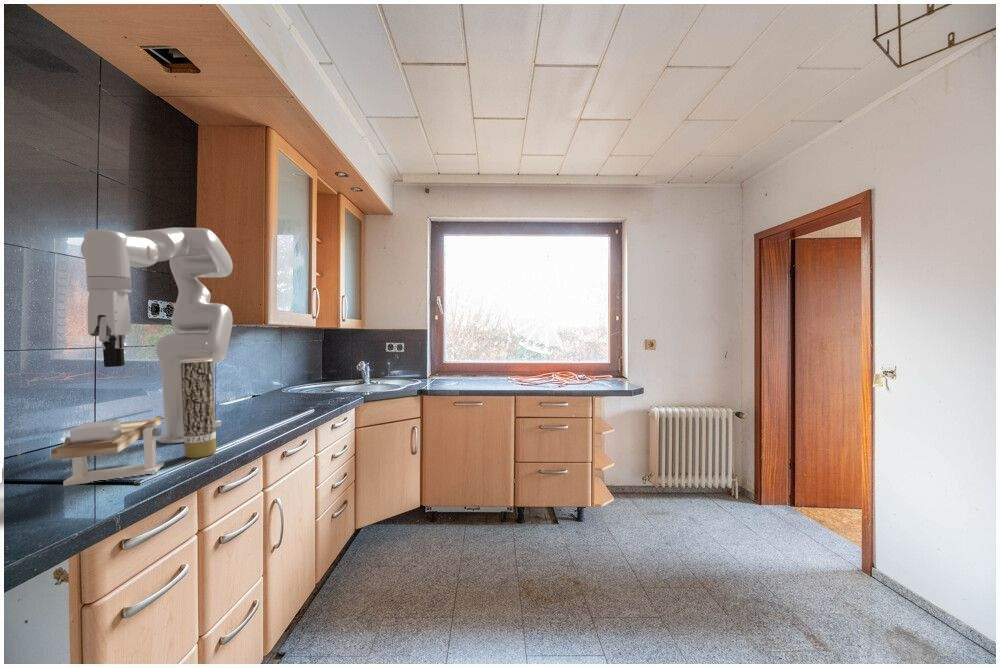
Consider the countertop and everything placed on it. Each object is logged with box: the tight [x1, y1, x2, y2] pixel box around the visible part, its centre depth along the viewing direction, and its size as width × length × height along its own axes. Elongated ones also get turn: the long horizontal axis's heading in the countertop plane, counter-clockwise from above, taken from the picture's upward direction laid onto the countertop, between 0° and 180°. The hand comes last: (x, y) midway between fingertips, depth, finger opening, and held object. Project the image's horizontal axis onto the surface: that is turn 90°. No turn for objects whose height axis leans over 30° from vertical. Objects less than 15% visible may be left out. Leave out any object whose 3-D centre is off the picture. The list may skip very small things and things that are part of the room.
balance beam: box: [50, 415, 162, 461], centre depth 98 cm, size 28×10×5 cm, turn 24°
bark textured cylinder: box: [181, 358, 217, 459], centre depth 112 cm, size 7×7×25 cm
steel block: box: [69, 419, 122, 445], centre depth 90 cm, size 6×6×4 cm
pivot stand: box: [63, 427, 165, 487], centre depth 98 cm, size 6×17×10 cm, turn 114°
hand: (114, 366), depth 99 cm, fingers closed
